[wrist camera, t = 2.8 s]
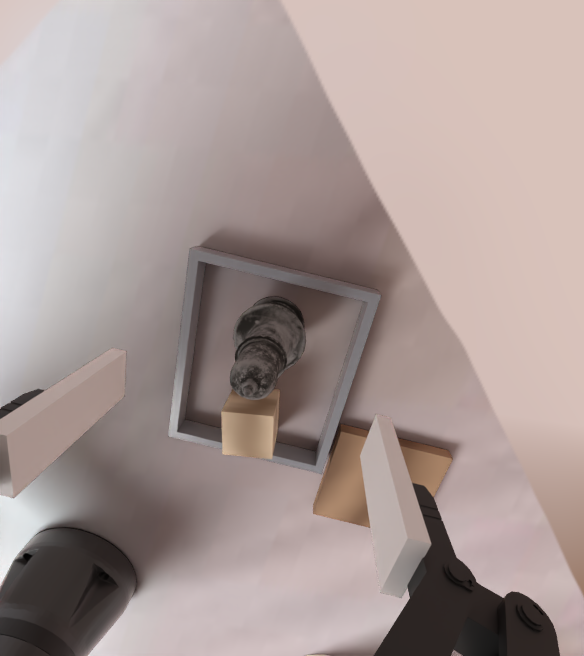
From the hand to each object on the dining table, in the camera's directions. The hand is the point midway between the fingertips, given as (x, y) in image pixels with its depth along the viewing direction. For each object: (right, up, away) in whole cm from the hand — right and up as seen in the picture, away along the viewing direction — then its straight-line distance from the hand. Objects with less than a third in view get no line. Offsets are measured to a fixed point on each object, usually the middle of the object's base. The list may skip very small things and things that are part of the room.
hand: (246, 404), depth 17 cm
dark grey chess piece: (+1, +4, +13) cm, 13 cm away
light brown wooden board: (+11, -12, +17) cm, 24 cm away
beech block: (-1, -4, +16) cm, 16 cm away
